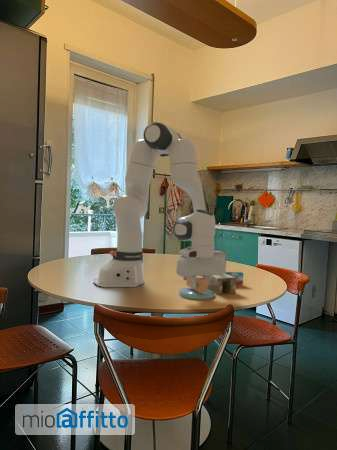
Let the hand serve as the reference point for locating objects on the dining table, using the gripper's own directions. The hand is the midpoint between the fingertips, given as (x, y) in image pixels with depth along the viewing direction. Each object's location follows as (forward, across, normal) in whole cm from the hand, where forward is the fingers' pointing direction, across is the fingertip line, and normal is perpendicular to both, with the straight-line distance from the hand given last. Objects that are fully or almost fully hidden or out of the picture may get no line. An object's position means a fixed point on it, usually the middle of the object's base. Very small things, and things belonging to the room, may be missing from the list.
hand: (200, 286), depth 124 cm
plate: (+4, 0, -3) cm, 5 cm away
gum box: (+4, -19, -30) cm, 35 cm away
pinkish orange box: (+2, 0, -4) cm, 4 cm away
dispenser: (+4, -13, -6) cm, 15 cm away
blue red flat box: (+4, -23, -14) cm, 27 cm away
